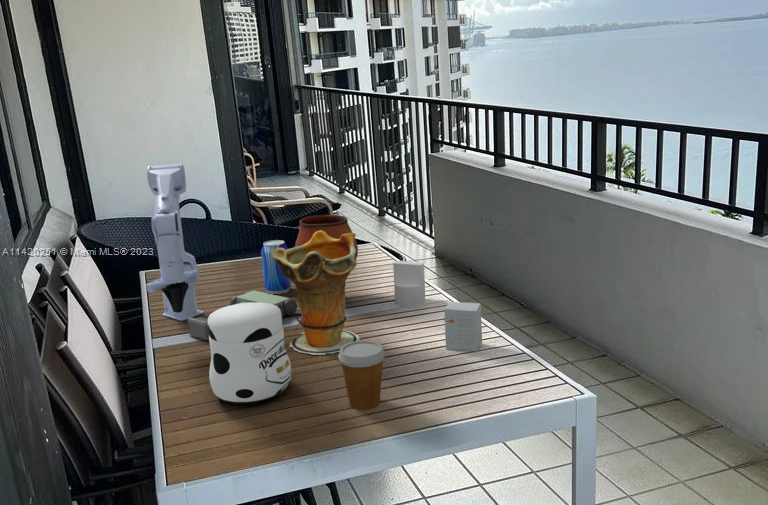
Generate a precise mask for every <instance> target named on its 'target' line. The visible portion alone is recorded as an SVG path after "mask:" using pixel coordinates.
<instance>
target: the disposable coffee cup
mask: <svg viewBox="0 0 768 505" xmlns="http://www.w3.org/2000/svg"><path fill="white" fill-rule="evenodd" d="M385 356H386V352H385V349H384V347H383V345H382V344H381V343H379V342H377V341H372V340H359V341H355V342H351V343H348V344H345V345H344V346H342V347H341V349H340V352H338V355H337V357H338V360H339V362H340V363H341V368H342V373H343V378H344V382H345V387H346V389H345V390H346V393H347V398H348V402H349V407H351V408H353V409H355V410H359V411H362V410H365V411H366V410H371V409H375V408H376V407H378V406H379V405H380V403H381V393H382V392H381V391H382V378H383V365H384V359H385Z"/></svg>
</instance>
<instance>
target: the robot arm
mask: <svg viewBox="0 0 768 505" xmlns="http://www.w3.org/2000/svg"><path fill="white" fill-rule="evenodd" d="M146 177H147V183H148V187H149V189H150V191H151V193H152V195H154V196H156V197H155V199H154V210H153V211H154V213H153V214H154V216H151V230H152V233H153V236H154V241H155V245H156V248H157V255H158V256H157V257H158V263H159V269H160V270H159V271H160V278H157V279H156V280H154V281H151V282H149V283H146V284H145V285H146V292H148V293H155V292H156V291H158V290H159V291H160V290H161V292H162V300H163V308H164V313H162V316H163V317H167V318H171V319H173V320H178V321H180V322H183V321H186V320H188V318H190V317H191V318H194V317H197V316H199V315H202V314H204V313H205V311H203V310H200V309H198V305H197V299H196V298H197V297H196V289H195V284H197V283H198V282H199V278H201V277H200V270H199V269H198V268H197V267H198V266H197V262H196V258H195V256H194V255H192V254H190V253H189V252H187V251H185V244H184V236H183V227H182V217H181V211H180V196H181V195H182V194H184V193H186V191H187V182H186V171H185V165H184V164H183V163H182V162H181V163H177V164H165V165H163V164H161V165H148V166H147V168H146Z"/></svg>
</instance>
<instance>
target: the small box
mask: <svg viewBox="0 0 768 505" xmlns="http://www.w3.org/2000/svg"><path fill="white" fill-rule="evenodd" d="M443 312H444V313H443V314H444V333H445V334H444V335H445V338H444V340H445V349H446V350H448V351H449V350H450V351H451V350H452V351H462V352H463V351H465V352H476V353H478V352H479V350H480V348H481V345H482V344H483V330H482V328H483V327H482V326H483V325H482V304H481V303H480V302H479V303H477V302H461V301H460V302H459V301H458V302H457V301H449V302H448V304H447V305H446V306H445V308H444V311H443Z"/></svg>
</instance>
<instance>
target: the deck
mask: <svg viewBox="0 0 768 505" xmlns="http://www.w3.org/2000/svg"><path fill="white" fill-rule="evenodd" d="M258 302H261V303H269V304H273V305H275V306H277V307H278V308H279V309H280V310H281V314H282V319H283V318H284V315H285V316H287V315H288V316H293V315H295V314H296V312H297V309H298V305H297V303H298V302H296V300H294V299H291V298H290V297H286V296H280V295H273V294H269V293H268V292H262V291H258V290H247V291H245V292H244V294H241V295H237V294H235V295H233V296H232V297H231V299H230V301H229V306H231V305H235V304H241V303H258Z"/></svg>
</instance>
